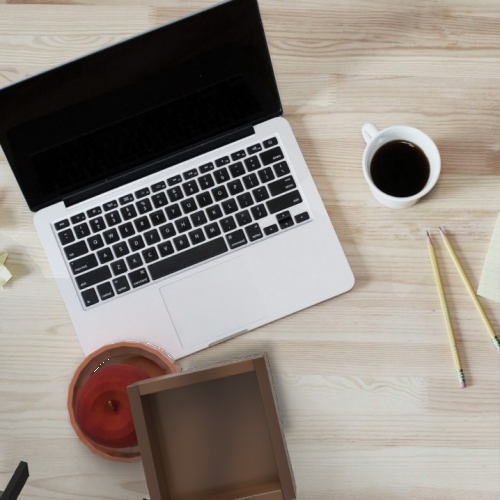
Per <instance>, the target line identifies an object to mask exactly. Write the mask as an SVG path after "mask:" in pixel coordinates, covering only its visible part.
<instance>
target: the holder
mask: <svg viewBox="0 0 500 500" xmlns="http://www.w3.org/2000/svg"><path fill="white" fill-rule="evenodd" d="M256 354H257V353H256ZM247 356H248V355H247ZM267 356H268V353H267V354H266V353H262V354H257V355H253V356H248V357H244V356H243V357H244V358H239V357H238V358H239V359H235V358H234V359H235V360H230V359H229V360H230V361H226V360H225V361H226V362H221V361H220V362H221V363H217V362H216V363H217V364H212V363H211V364H212V365H208V364H207V365H208V366H203V365H202V366H203V367H199V366H198V367H199V368H195V367H193V368H191V369H186V370H181V372H177V373H172V374H168V375H163V376H159V377H154V378H150V379H145V380H141V381H137V382H135V383H133V384H131V385H129V386H127V392H128V397H129V402H130V407H131V411H132V416H133V421H134V426H135V430H136V435H137V440H138V445H139V449H140V454H141V459H142V460H141V463H142V468H143V472H144V477H145V482H146V487H147V491H148V496H149V500H296V499H297V482H296V478H295V473H294V470H293V469H294V468H293V464H292V461H291V456H290V451H289V448H288V443H287V438H286V435H285V430H284V425H282V422H283V419H282V420H281V418H282V415H281V416H280V414H281V411H280V412H279V409H280V406H279V407H278V405H279V402H278V403H277V400H278V397H277V398H276V396H277V393H276V394H275V392H276V388H275V389H274V387H275V384H274V385H273V383H274V380H273V381H272V378H273V375H272V376H271V374H272V371H271V372H270V369H271V366H270V367H269V365H270V362H269V363H268V361H269V357H268V358H267Z"/></svg>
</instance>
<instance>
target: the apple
mask: <svg viewBox="0 0 500 500" xmlns="http://www.w3.org/2000/svg"><path fill="white" fill-rule="evenodd" d="M150 378H151V377H150V376H149V375H148V374H147V373H146V372H145V371H144V370H142V369H140V368H139V367H136V366H133V365H129V364H114V365H110V366H107V367H105V368H103V369H101V370H99V371H97V372H96V373H94V374H93V375H92V376H91V377H90V378H89V379H88V380H87V381H86V382H85V384H84V385H83V387H82V389H81V391H80V393H79V395H78V398H77V402H76V407H75V408H76V419H77V423H78V425H79V427H80V429H81V430H82V431H83V433H84V434H85V435H86V436H87V437H88V438H89V439H90V440H92V441H93V442H95V443H97V444H99V445H102V446H105V447H110V448H116V449H117V448H127V447H131V446H134V445H136V444H138V440H137V435H136V430H135V426H134V421H133V416H132V411H131V407H130V402H129V397H128V392H127V386H129V385H131V384H133V383H135V382H137V381H141V380H145V379H150Z"/></svg>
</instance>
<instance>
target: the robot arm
mask: <svg viewBox="0 0 500 500" xmlns="http://www.w3.org/2000/svg"><path fill="white" fill-rule="evenodd" d="M29 477H30V471H29V463H28V462H27V461H24V460H20V461H19V463H18V464H17V467H16V469H15V470H14V472H13V474H12V476H11V478H10V479H9V481H8V483H7V485H6V486H5V488H4V490H1V489H0V500H18V498H19V496H20V494H21V492H22V490H23V488H24V487H25V485H26V484H27V481H28V479H29ZM142 500H149V499H148V498H145V497H143V498H142Z"/></svg>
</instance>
